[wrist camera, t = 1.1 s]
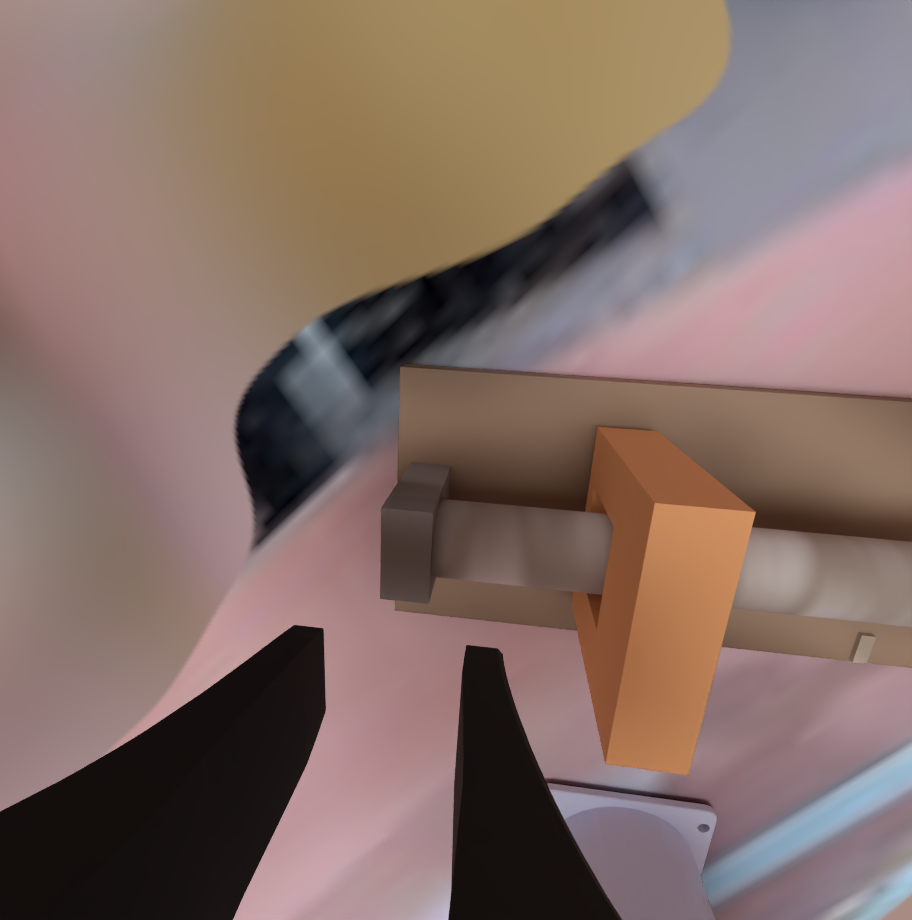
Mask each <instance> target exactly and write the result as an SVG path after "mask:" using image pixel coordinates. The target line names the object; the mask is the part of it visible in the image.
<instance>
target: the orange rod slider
mask: <svg viewBox="0 0 912 920" xmlns="http://www.w3.org/2000/svg"><path fill="white" fill-rule="evenodd" d="M585 512H591V513H602V514H608V516H609V518H610V520H611V523H612V525H613V527H614V528H613V534H612V540H611V546H610V552H609V558H608V564H607V570H606V576H605V582H604V588H603V594H602V595H600V594H591V593H581V592H573V599H572V608H573V612H574V617H575V622H576V627H577V631H578V636H579V641H580V646H581V650H582V655H583V660H584V665H585V669H586V674H587V679H588V684H589V689H590V693H591V698H592V703H593V708H594V712H595V717H596V722H597V727H598V731H599V736H600V741H601V746H602V750H603V755H604V760H605V764H608V765H616V766H623V767H631V768H639V769H646V770H654V771H661V772H669V773H676V774H684V775H689V771H690V767H691V763H692V759H693V755H694V751H695V747H696V744H697V740H698V736H699V732H700V728H701V724H702V720H703V716H704V712H705V709H706V705H707V701H708V697H709V693H710V689H711V685H712V681H713V677H714V673H715V670H716V666H717V662H718V658H719V654H720V650H721V646H722V642H723V638H724V634H725V631H726V627H727V623H728V619H729V615H730V611H731V607H732V603H733V599H734V595H735V592H736V588H737V584H738V580H739V576H740V572H741V568H742V564H743V560H744V556H745V553H746V549H747V545H748V541H749V537H750V533H751V529H752V525H753V521H754V517H755V514H756V512H755V511H754V510H753V509H752V508H750V507H749V506H748V505H747V504H745V503H744V502H743V501H742V500H741V499H739V498H738V497H737V496H736V495H735V494H733V493H732V492H731V491H730V490H728V489H727V488H726V487H725V486H724V485H722V484H721V483H720V482H719V481H717V480H716V479H715V478H714V477H713V476H711V475H710V474H709V473H708V472H706V471H705V470H704V469H703V468H702V467H700V466H699V465H698V464H697V463H696V462H694V461H693V460H692V459H691V458H689V457H688V456H687V455H686V454H685V453H683V452H682V451H681V450H680V449H678V448H677V447H676V446H675V445H674V444H672V443H671V442H670V441H669V440H668V439H666V438H665V437H664V436H663V435H661V434H660V433H659V432H658V431H647V430H634V429H621V428H608V427H597V433H596V440H595V447H594V454H593V461H592V468H591V475H590V482H589V489H588V495H587V502H586V509H585Z"/></svg>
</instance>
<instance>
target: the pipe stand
mask: <svg viewBox="0 0 912 920" xmlns="http://www.w3.org/2000/svg"><path fill="white" fill-rule="evenodd" d="M597 427H608V428H621V429H634V430H647V431H658V432H659V433H660V434H661V435H663V436H664V437H665V438H666V439H668V440H669V441H670V442H671V443H672V444H674V445H675V446H676V447H677V448H678V449H680V450H681V451H682V452H683V453H685V454H686V455H687V456H688V457H689V458H691V459H692V460H693V461H694V462H696V463H697V464H698V465H699V466H700V467H702V468H703V469H704V470H705V471H706V472H708V473H709V474H710V475H711V476H713V477H714V478H715V479H716V480H717V481H719V482H720V483H721V484H722V485H724V486H725V487H726V488H727V489H728V490H730V491H731V492H732V493H733V494H735V495H736V496H737V497H738V498H739V499H741V500H742V501H743V502H744V503H745V504H747V505H748V506H749V507H750V508H752V509H753V510H754V511H755V512H756V514H755V517H754V521H753V525H752V529H751V533H750V537H749V541H748V545H747V549H746V553H745V556H744V560H743V564H742V568H741V572H740V576H739V580H738V584H737V588H736V592H735V595H734V599H733V603H732V607H731V611H730V615H729V619H728V623H727V627H726V631H725V634H724V638H723V642H722V646H721V647H729V648H738V649H747V650H756V651H765V652H774V653H783V654H792V655H801V656H810V657H818V658H827V659H836V660H845V661H852V662H855V663H864V664H867V663H872V664H881V665H890V666H899V667H908V668H912V399H909V398H894V397H880V396H865V395H851V394H836V393H822V392H807V391H793V390H778V389H764V388H749V387H734V386H720V385H705V384H691V383H676V382H662V381H647V380H633V379H618V378H604V377H589V376H575V375H560V374H546V373H531V372H517V371H502V370H487V369H473V368H458V367H444V366H429V365H415V364H405V365H403V366H401V367H400V396H399V442H398V483H397V485H396V486H395V488H394V489H393V491H392V492H391V494H390V495H389V497H388V499H387V500H386V502H385V503H384V505H383V506H382V508H381V580H380V599H387V600H395V610H396V611H405V612H414V613H423V614H432V615H441V616H450V617H459V618H468V619H477V620H486V621H495V622H504V623H513V624H522V625H531V626H540V627H549V628H558V629H567V630H576V631H577V627H576V622H575V617H574V612H573V608H572V599H573V592H581V593H591V594H600V595H602V594H603V588H604V582H605V576H606V570H607V564H608V558H609V552H610V546H611V540H612V534H613V528H614V527H613V525H612V523H611V520H610V518H609V516H608V514H602V513H591V512H585V509H586V502H587V495H588V489H589V482H590V475H591V468H592V461H593V454H594V447H595V440H596V433H597Z"/></svg>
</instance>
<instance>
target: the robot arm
mask: <svg viewBox="0 0 912 920" xmlns="http://www.w3.org/2000/svg"><path fill="white" fill-rule="evenodd" d="M325 711H326V702H325V667H324V632H323V628H315V627H307V626H298V625H294V626H292V627H291V628H289V629H288V630H287V631H285V632H284V633H283V634H281V635H280V636H279V637H277V638H276V639H275V640H273V641H272V642H271V643H269V644H268V645H267V646H265V647H264V648H263V649H261V650H260V651H259V652H257V653H256V654H255V655H253V656H252V657H251V658H249V659H248V660H247V661H245V662H244V663H243V664H241V665H240V666H239V667H237V668H236V669H234V670H233V671H232V672H230V673H229V674H228V675H226V676H225V677H224V678H222V679H221V680H219V681H218V682H217V683H215V684H214V685H213V686H211V687H210V688H208V689H207V690H206V691H204V692H203V693H201V694H200V695H198V696H197V697H195V698H194V699H192V700H191V701H189V702H188V703H186V704H185V705H183V706H182V707H180V708H179V709H177V710H176V711H174V712H173V713H172V714H170V715H169V716H167V717H166V718H164V719H163V720H161V721H160V722H158V723H157V724H155V725H154V726H152V727H151V728H149V729H148V730H146V731H144V732H143V733H141V734H140V735H138V736H136V737H135V738H133V739H132V740H130V741H128V742H127V743H125V744H123V745H122V746H120V747H118V748H117V749H115V750H114V751H112V752H110V753H108V754H107V755H105V756H103V757H101V758H100V759H98V760H96V761H95V762H93V763H91V764H89V765H87V766H86V767H84V768H83V769H81V770H79V771H77V772H75V773H74V774H72V775H70V776H68V777H66V778H65V779H63V780H61V781H59V782H57V783H55V784H53V785H51V786H49V787H47V788H45V789H43V790H41V791H39V792H38V793H36V794H34V795H32V796H30V797H28V798H26V799H24V800H22V801H20V802H18V803H16V804H14V805H12V806H10V807H8V808H6V809H4V810H2V811H1V812H0V920H233V918H234V916H235V914H236V911H237V909H238V907H239V905H240V902H241V900H242V898H243V896H244V893H245V891H246V889H247V887H248V885H249V883H250V881H251V879H252V877H253V875H254V873H255V871H256V869H257V867H258V864H259V862H260V860H261V858H262V856H263V854H264V852H265V850H266V848H267V846H268V844H269V842H270V840H271V838H272V836H273V834H274V832H275V829H276V827H277V825H278V823H279V821H280V819H281V817H282V815H283V813H284V811H285V809H286V807H287V805H288V803H289V800H290V798H291V796H292V794H293V792H294V790H295V788H296V786H297V784H298V782H299V780H300V777H301V775H302V773H303V771H304V769H305V767H306V765H307V762H308V760H309V757H310V754H311V751H312V749H313V746H314V743H315V740H316V738H317V735H318V732H319V729H320V726H321V723H322V720H323V717H324V714H325ZM716 822H717V817H716V814H715V812H714V810H713V808H712V807H710V806H708V805H705V804H698V803H691V802H683V801H676V800H669V799H661V798H654V797H647V796H640V795H632V794H625V793H618V792H610V791H603V790H596V789H589V788H581V787H574V786H567V785H560V784H552V783H546V781H545V778H544V776H543V774H542V772H541V770H540V768H539V765H538V763H537V761H536V758H535V756H534V754H533V751H532V749H531V746H530V744H529V741H528V739H527V736H526V733H525V731H524V728H523V726H522V723H521V720H520V718H519V715H518V712H517V709H516V706H515V703H514V700H513V697H512V694H511V690H510V687H509V684H508V680H507V676H506V672H505V667H504V661H503V654H502V653H501V652H500V651H499V650H498V649H496V648H488V647H479V646H471V645H466V651H465V657H464V664H463V670H462V684H461V698H460V712H459V726H458V740H457V753H456V767H455V781H454V814H453V852H452V890H451V901H450V910H449V920H715V918H714V915H713V912H712V909H711V906H710V903H709V900H708V897H707V894H706V891H705V888H704V885H703V882H702V879H701V874H702V870H703V867H704V863H705V860H706V857H707V853H708V850H709V846H710V843H711V839H712V836H713V832H714V829H715V825H716Z"/></svg>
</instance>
